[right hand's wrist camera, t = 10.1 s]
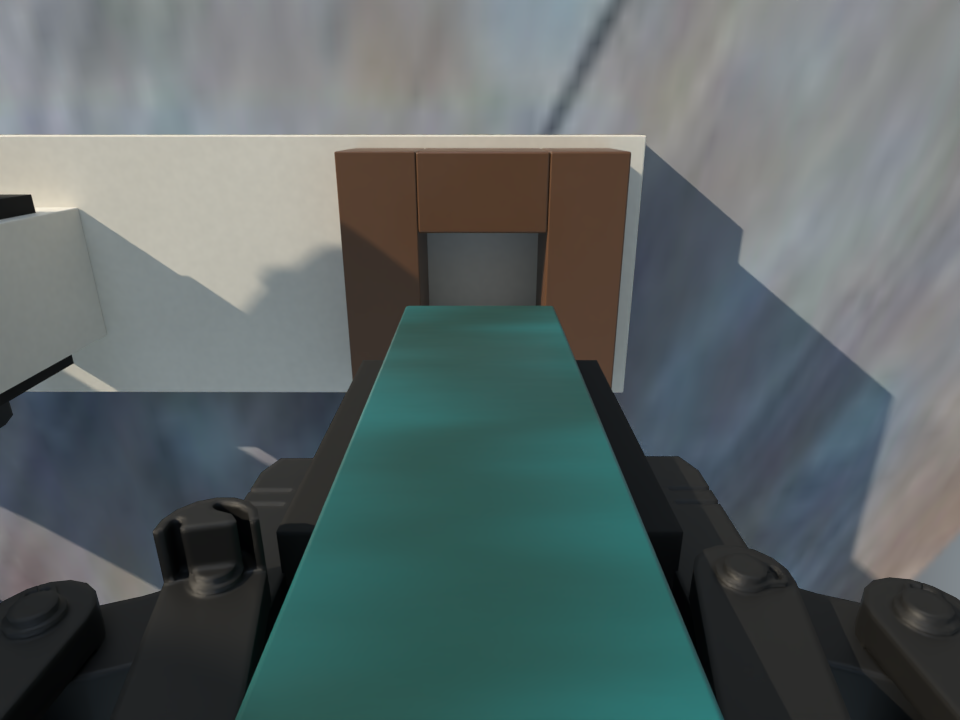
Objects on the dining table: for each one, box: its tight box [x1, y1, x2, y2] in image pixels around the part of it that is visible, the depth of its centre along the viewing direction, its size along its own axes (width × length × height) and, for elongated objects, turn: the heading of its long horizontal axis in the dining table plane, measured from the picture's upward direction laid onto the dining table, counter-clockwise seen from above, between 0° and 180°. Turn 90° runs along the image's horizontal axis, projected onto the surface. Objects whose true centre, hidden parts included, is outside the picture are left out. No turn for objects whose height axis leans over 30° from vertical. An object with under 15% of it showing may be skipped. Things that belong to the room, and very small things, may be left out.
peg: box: [235, 306, 724, 720], centre depth 11 cm, size 4×4×14 cm
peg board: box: [0, 135, 646, 394], centre depth 24 cm, size 30×12×14 cm, turn 90°
